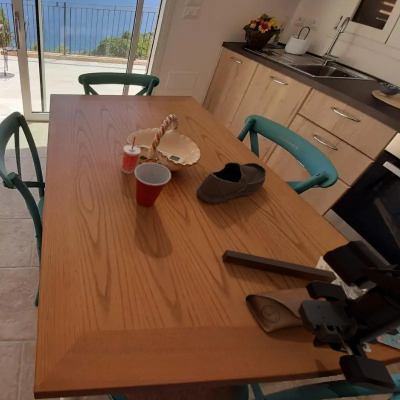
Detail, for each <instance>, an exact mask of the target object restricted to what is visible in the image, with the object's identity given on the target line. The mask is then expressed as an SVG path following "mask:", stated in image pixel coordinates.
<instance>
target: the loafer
mask: <svg viewBox="0 0 400 400" xmlns="http://www.w3.org/2000/svg"><path fill="white" fill-rule="evenodd" d="M266 176H267V170H266V168H265V167H264V166H263V165H261V164H259V163H257V162H247V163H244V164H241V163H239V162H232V161H229V162H226V163H225V164H224V167H223V168H222V169H220V170H215V171H210V172H209V174H208V175H206V176H205V178H204V179H203V180H202V182H201V183H200V186H198V188H196V191H195V192H196V195H197V196H198V197H199V198H200V199H201V200H203V201H204V202H206V203H209V204H219V203H223V202H225V201H226V202H227V201H229V200H231V199H234V198H237V197H245V196H251V195H254V194H255V193H257V192H258V191H259V190H261V188H262V187H263V185H264V183H265V181H266Z"/></svg>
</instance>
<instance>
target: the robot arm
mask: <svg viewBox="0 0 400 400" xmlns="http://www.w3.org/2000/svg"><path fill="white" fill-rule="evenodd" d="M322 260H323V261H324V262H325V263H326V264H327V266H328V267H329V268H330V270H332V272H334V274H335V275H336V276H338V278H339V279H340V280H341V281H342V282H343V283H344V284H345V285H346V286H347V287H348V288H353V287H356V288H357V289H358V290H367V291H365V292H364V293H362V294H361V295H359V296H357V297H356V298H355V299H352V298H349V296H348V295H347V293H346V291H345V289H344V288H343V286H342V285H340V284H336V283H333V282H332V283H327V282H323V281H318V280H315V281H310V282H309V283H308V284H306V285H305V288H306V289H307V291H308V294H309V296H310V298H312V299H315V300H303V301H302V303H301V305H300V308H299V310H298V312H299V315H300V316H301V319H302V322H303V325H304V326H303V328H304V330H306V332H309V333H310V334H312V335H314V338H313V341H312V345H313V348H316V349H326V350H333V351H335V352H337V353H343V355H341V356H340V357H339V359H338V365H339V368H340V369H341V372H342V374H343V376H344V378H345V381H346V382H347V383H349V384H350V386H353V387H358V388H362V389H365V390H366V389H367V390H369V391H374V392H377V393H381V394H386V395H387V394H390V393H393V392H395V391H396V390H397V389H398V386H397V385H396V383H395V381H394V379H393V377H392V375H391V374H390V372H389V369H388V368H387V366H386V364H385V362H384V361H383V360H378V359H374V358H369V357H368V355H367V354H371V353H372V349H371V348H370V346H369V345H373V346H375V345H377V344H379V340H378V338H379V337H381V336H384V335H390V336H397V335H400V332H399V330H398V328H400V263H399V264H386V263H385V262H384V261H383V260H382V259H381V258H380V257H379V256H377V254H375V253H374V252H373V251H372V250H371V249H370V248H369V246H368V245H367V244H366V243H365V242H364V241H363V240H361V239H360V240H350V241H349V242H347V243H346V244H343V245H340V246H337V247H335V248H333V249H331V250H328V251H326V252H325V254H323V256H322ZM319 298H322V299H323V301H320V300H318V299H319ZM324 299H325V300H324Z"/></svg>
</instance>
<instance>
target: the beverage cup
mask: <svg viewBox="0 0 400 400" xmlns="http://www.w3.org/2000/svg"><path fill="white" fill-rule="evenodd" d="M135 141H136V136H135V135H134V136H133V141H132V144H126V145H124V146H123V149H122V150H123V154H122V155H123V156H122V163H121V164H122V165H121V171H122V173H124V174H129V175H130V174H134V172H135V168H136V167H137V166H136V165H137V163H138V159H139V156H140V154H141V152H142V151H141V148H140V147H139V146H138V145H135Z"/></svg>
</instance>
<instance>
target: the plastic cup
mask: <svg viewBox="0 0 400 400" xmlns="http://www.w3.org/2000/svg"><path fill="white" fill-rule="evenodd" d="M133 174H134V176H135V181H136V183H135V184H136V185H135V193H136V195H135V202H136V203H137V204H138V205H139V206H141V207H143V208H144V207H145V208H150V207H152V206H153V205H154V204H155V202H156V201H157V199H158V198H159V196H160V194H161V193H162V191H163V189H164V188H165V186H166V184H167V183H168V182H169V181H170V180H171V178H172V173H171V171H170V170H169V168H167V167H166V166H164V164H160V163H157V162H149V161H148V162H143V163H141V164H138V165H137V166H135V169H134V172H133Z"/></svg>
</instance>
